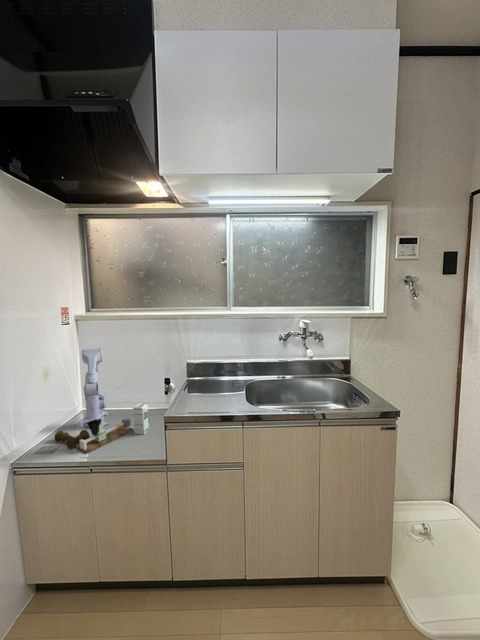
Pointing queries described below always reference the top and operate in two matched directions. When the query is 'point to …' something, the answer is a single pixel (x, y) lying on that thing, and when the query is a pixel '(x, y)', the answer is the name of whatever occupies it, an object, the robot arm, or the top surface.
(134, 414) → the syrup box
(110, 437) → the board
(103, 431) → the sleeve
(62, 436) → the kendama
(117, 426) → the linear slide rail
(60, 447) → the top surface
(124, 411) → the top surface
